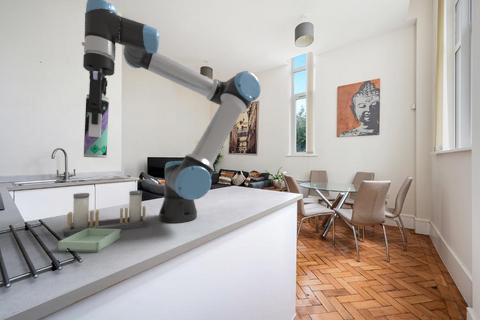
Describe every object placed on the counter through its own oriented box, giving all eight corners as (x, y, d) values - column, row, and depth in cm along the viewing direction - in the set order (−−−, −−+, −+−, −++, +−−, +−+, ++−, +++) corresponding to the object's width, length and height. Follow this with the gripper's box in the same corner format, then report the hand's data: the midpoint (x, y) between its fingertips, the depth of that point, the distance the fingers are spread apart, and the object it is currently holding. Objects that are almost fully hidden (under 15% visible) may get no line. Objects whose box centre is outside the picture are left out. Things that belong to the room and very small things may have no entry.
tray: (120, 237, 64) (120, 229, 64) (97, 252, 53) (98, 242, 53) (87, 236, 64) (87, 228, 64) (58, 251, 53) (58, 241, 53)
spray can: (80, 156, 57) (83, 84, 57) (87, 156, 62) (90, 90, 62) (103, 157, 59) (106, 87, 59) (108, 157, 64) (111, 92, 64)
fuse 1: (91, 228, 71) (92, 193, 71) (82, 232, 66) (83, 195, 66) (79, 228, 71) (80, 192, 71) (68, 232, 66) (69, 194, 66)
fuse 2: (143, 222, 79) (144, 190, 79) (137, 226, 74) (138, 192, 74) (132, 222, 79) (133, 190, 79) (126, 225, 74) (127, 192, 74)
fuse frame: (144, 219, 82) (144, 204, 82) (146, 226, 74) (147, 209, 74) (70, 227, 71) (70, 210, 71) (63, 236, 63) (64, 216, 63)
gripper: (89, 66, 67) (86, 138, 67) (76, 38, 51) (72, 133, 51) (116, 72, 70) (113, 140, 70) (112, 46, 54) (108, 136, 54)
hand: (96, 137), depth 60 cm, fingers closed on spray can, 5 cm apart
